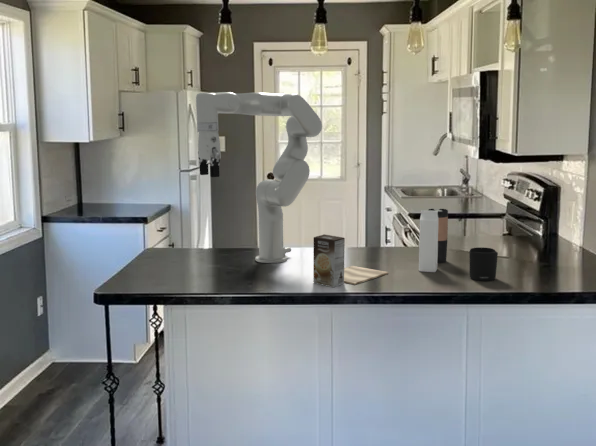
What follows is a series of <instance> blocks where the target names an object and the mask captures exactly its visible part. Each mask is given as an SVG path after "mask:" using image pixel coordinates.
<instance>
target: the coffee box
mask: <svg viewBox="0 0 596 446" xmlns="http://www.w3.org/2000/svg"><path fill="white" fill-rule="evenodd" d="M345 239H346V238H345V237H344V236H343V237H341V236H336V235H330V234H321V235H317V236H314V237H313V279H312V280H313V281H312V282H314V283H313V284H317V283H318V284H317V285H321V284H323V285H322V286H326V285H327V287H331V288H335V287H338V286H342V285H344V284H345V283H344V268H345V248H346V247H345V246H346V245H345Z"/></svg>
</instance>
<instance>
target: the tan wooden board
mask: <svg viewBox="0 0 596 446" xmlns="http://www.w3.org/2000/svg"><path fill="white" fill-rule="evenodd" d="M388 274H389V271H385V270H378V269H372V268H367V267H360V266H356V265H350V266H346V267H344V284H349V285H354V286H355V285H356V286H357V285H359V284H362V283H364V282H368V281H371V280H373V279H376V278H380V277H383V276H386V275H388Z"/></svg>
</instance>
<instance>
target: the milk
mask: <svg viewBox="0 0 596 446" xmlns="http://www.w3.org/2000/svg"><path fill="white" fill-rule="evenodd" d="M418 239H419V241H418V243H419V244H418V246H419V247H418V272H426V273H436V272H437V270H438V263H437V257H438V211H431V210H429V209H427V210H426V209H423V210H422V209H421V211H420V217H419V238H418Z"/></svg>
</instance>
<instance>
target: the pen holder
mask: <svg viewBox="0 0 596 446" xmlns="http://www.w3.org/2000/svg"><path fill="white" fill-rule="evenodd" d="M468 254H469V278H470V279H471V280H473V281H479V282H491V281H495V279H496V276H497V265H498V254H499V253H498V252H497V251H496V250H495V249H494V248H491V247H473V248H472V247H471V248H470V249H469V253H468Z"/></svg>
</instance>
